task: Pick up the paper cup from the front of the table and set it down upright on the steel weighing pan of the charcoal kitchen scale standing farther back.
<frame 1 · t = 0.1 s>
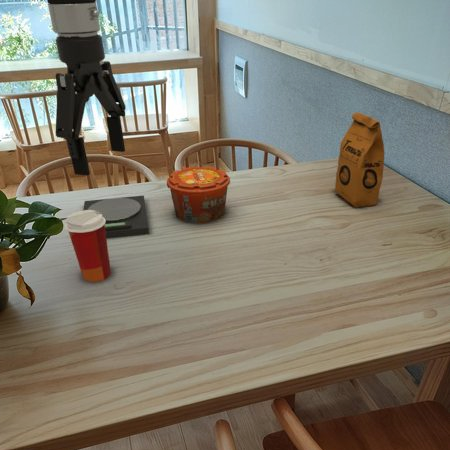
hand: (101, 162, 86), 23 cm above the table, tool pointing down, fingers open, 13 cm apart
scale: (116, 222, 116), on the table
food container: (200, 215, 119), on the table
paper cup: (97, 278, 95), on the table
coffee package: (355, 199, 125), on the table
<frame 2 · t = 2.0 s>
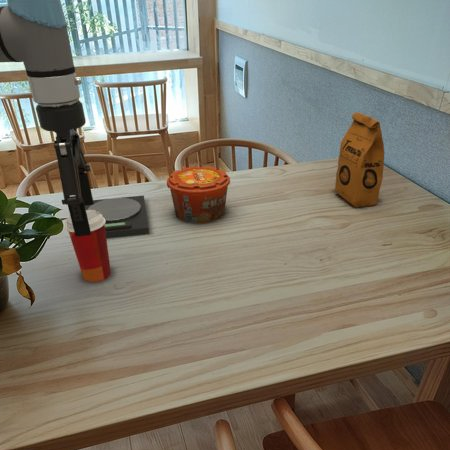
hand: (85, 219, 87), 14 cm above the table, tool pointing down, fingers open, 13 cm apart
nothing on the table moved.
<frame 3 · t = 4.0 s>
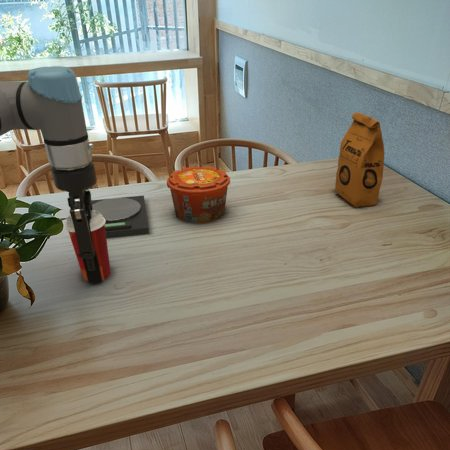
hand: (96, 271, 94), 1 cm above the table, tool pointing down, fingers closed on paper cup, 7 cm apart
paper cup: (97, 278, 95), on the table, touching gripper
everything else where it was.
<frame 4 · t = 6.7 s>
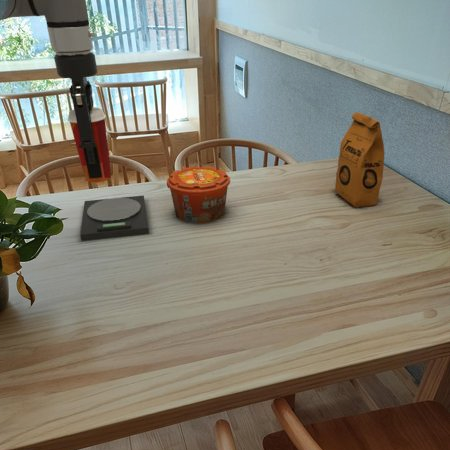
hand: (96, 171, 98), 17 cm above the table, tool pointing down, fingers closed on paper cup, 7 cm apart
paper cup: (98, 178, 99), point 15 cm above the table, touching gripper
everything else where it was.
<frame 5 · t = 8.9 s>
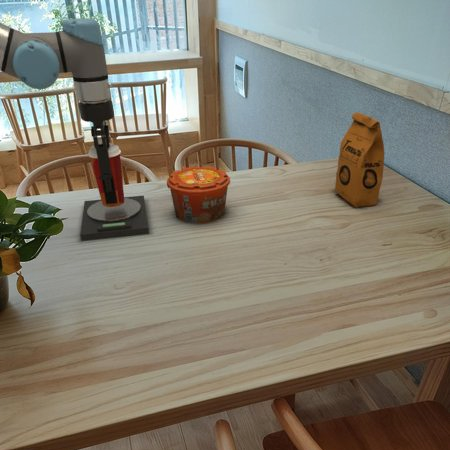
hand: (111, 197, 113), 6 cm above the table, tool pointing down, fingers closed on paper cup, 7 cm apart
paper cup: (113, 203, 114), point 5 cm above the table, touching gripper
everything else where it was.
when the fingers open (5 cm above the table, at t = 9.8 s): paper cup stays where it is, resting on scale.
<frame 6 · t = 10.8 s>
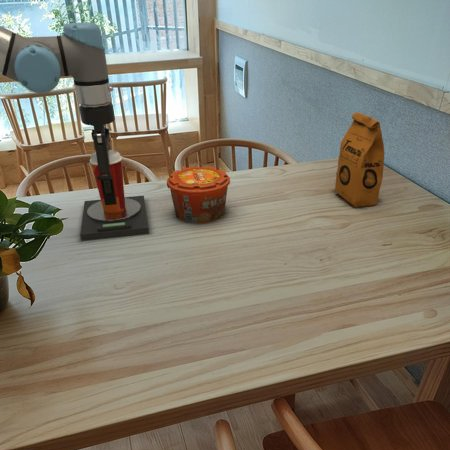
hand: (111, 193, 113), 7 cm above the table, tool pointing down, fingers open, 13 cm apart
paper cup: (114, 209, 115), point 3 cm above the table, touching scale
everything else where it was.
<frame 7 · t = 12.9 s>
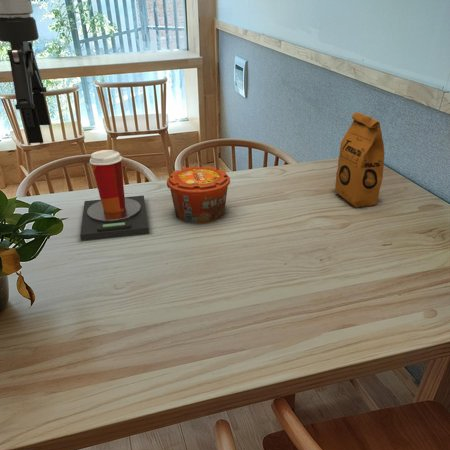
hand: (40, 133, 96), 25 cm above the table, tool pointing down, fingers open, 13 cm apart
nothing on the table moved.
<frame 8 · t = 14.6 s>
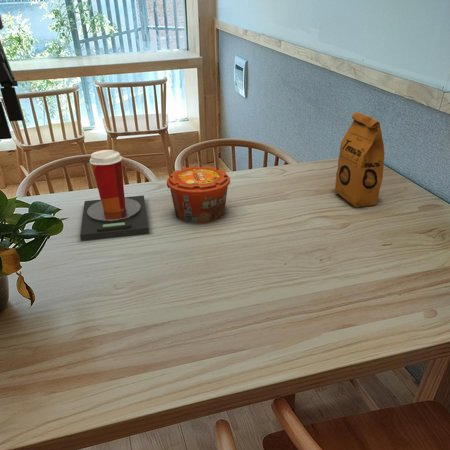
hand: (10, 129, 91), 27 cm above the table, tool pointing down, fingers open, 13 cm apart
nothing on the table moved.
at the end: paper cup inside the target area on the scale (0.1 cm from its centre), point 3.0 cm above the scale's base; paper cup tilted 0° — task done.
